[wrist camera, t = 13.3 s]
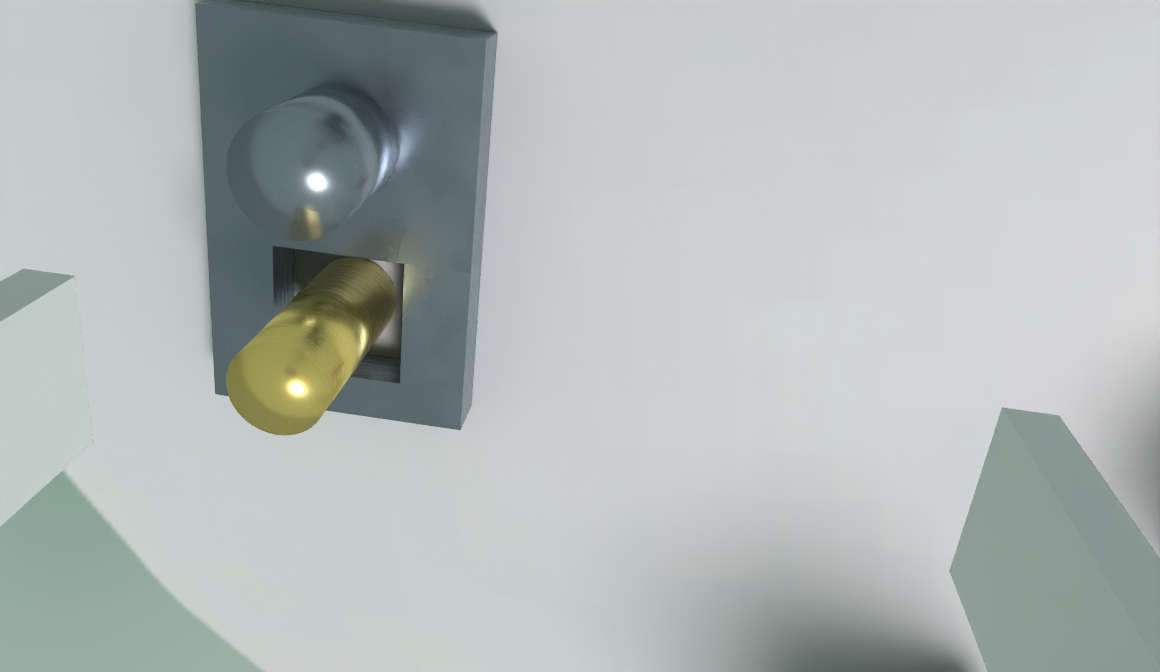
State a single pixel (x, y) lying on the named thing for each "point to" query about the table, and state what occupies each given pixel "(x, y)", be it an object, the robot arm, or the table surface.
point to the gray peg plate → (349, 183)
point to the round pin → (311, 347)
